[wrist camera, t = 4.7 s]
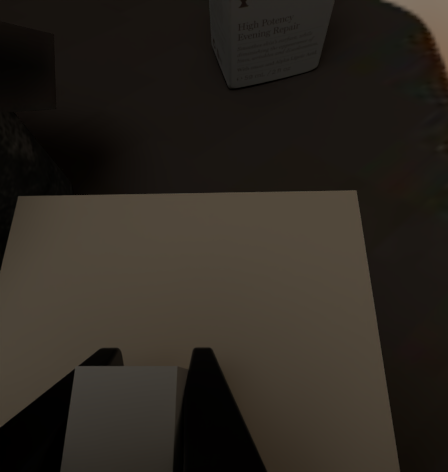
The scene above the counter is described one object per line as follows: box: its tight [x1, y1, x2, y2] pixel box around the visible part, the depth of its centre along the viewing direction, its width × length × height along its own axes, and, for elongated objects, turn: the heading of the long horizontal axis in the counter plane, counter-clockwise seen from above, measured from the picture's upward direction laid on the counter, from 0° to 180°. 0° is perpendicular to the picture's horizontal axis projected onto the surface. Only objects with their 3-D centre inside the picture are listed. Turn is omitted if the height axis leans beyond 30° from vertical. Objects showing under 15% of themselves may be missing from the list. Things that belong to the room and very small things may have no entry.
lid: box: [0, 191, 400, 472], centre depth 9 cm, size 9×12×6 cm
